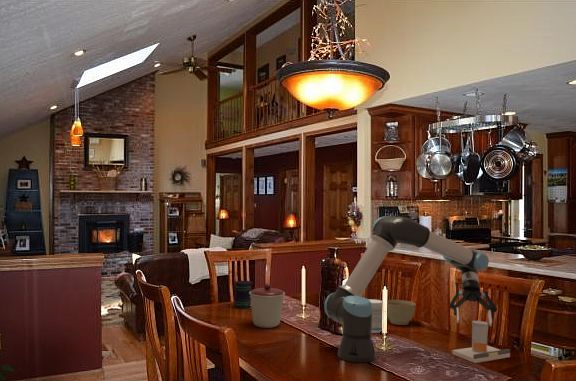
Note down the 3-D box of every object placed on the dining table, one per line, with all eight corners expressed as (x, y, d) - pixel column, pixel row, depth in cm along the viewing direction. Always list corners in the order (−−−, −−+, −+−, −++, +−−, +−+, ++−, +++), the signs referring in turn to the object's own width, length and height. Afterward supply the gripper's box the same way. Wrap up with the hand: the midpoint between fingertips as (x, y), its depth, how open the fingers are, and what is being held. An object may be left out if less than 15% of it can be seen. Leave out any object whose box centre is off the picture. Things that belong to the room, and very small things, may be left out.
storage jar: (254, 307, 278) (254, 281, 278) (244, 310, 269) (244, 283, 270) (240, 304, 283) (241, 280, 283) (230, 307, 275) (231, 282, 275)
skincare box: (471, 351, 196) (471, 322, 197) (471, 348, 200) (472, 320, 200) (487, 353, 194) (487, 324, 194) (487, 350, 198) (487, 321, 198)
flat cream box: (475, 363, 186) (475, 355, 186) (452, 354, 197) (452, 346, 197) (510, 357, 195) (510, 349, 195) (486, 348, 206) (486, 341, 206)
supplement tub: (387, 332, 229) (387, 301, 229) (372, 334, 224) (373, 303, 224) (373, 327, 237) (373, 298, 238) (359, 330, 232) (359, 300, 232)
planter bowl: (421, 326, 243) (422, 304, 243) (395, 328, 237) (395, 306, 237) (403, 318, 258) (403, 298, 258) (378, 320, 252) (378, 300, 252)
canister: (243, 328, 230) (244, 285, 230) (254, 319, 247) (255, 279, 248) (279, 331, 225) (280, 287, 226) (288, 322, 243) (289, 281, 243)
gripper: (497, 290, 222) (503, 330, 207) (442, 286, 228) (444, 324, 213) (500, 280, 217) (506, 320, 202) (443, 277, 224) (445, 315, 208)
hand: (474, 323), depth 208 cm, fingers open, 13 cm apart
